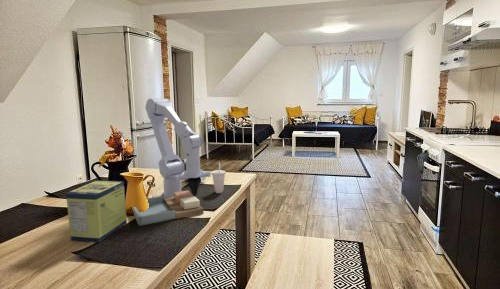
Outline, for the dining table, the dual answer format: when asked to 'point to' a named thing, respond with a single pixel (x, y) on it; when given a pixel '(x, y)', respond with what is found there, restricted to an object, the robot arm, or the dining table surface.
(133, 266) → the dining table surface
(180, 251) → the dining table surface
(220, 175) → the smoothie
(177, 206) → the walnut board
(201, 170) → the spread jar
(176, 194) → the terracotta tile
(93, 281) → the dining table surface
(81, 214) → the protein box
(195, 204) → the cream tile
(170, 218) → the box
